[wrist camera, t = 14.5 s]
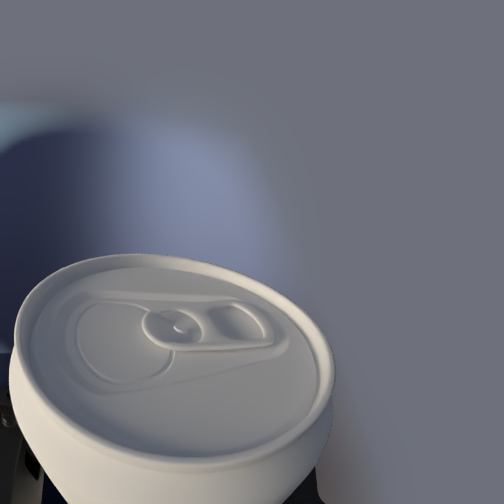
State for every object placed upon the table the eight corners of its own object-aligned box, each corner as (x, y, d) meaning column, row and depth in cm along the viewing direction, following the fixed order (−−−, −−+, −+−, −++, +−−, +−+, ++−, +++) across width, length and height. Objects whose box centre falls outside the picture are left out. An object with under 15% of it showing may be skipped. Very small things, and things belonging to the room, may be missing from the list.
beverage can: (71, 450, 11) (26, 242, 7) (203, 435, 15) (248, 251, 12) (111, 582, 5) (-27, 512, 1) (271, 543, 9) (423, 395, 5)
